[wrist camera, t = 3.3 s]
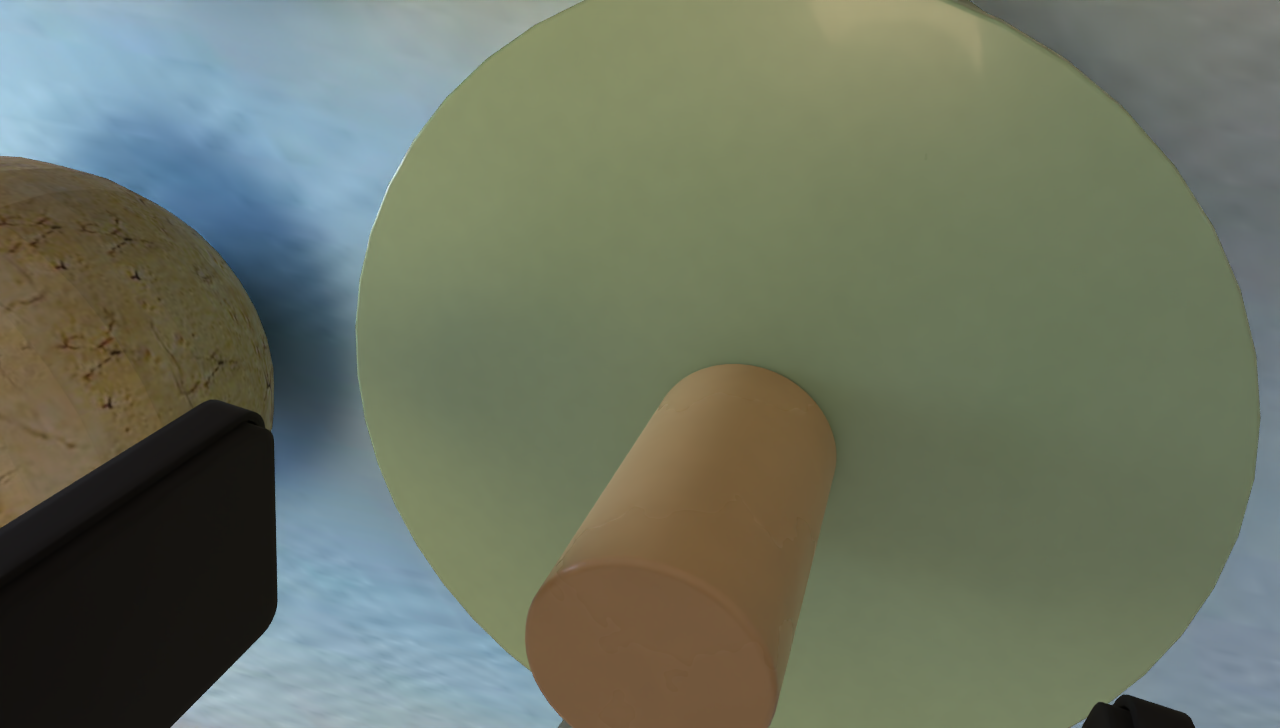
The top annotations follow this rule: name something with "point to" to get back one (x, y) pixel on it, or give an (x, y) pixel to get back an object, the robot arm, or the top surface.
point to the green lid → (806, 369)
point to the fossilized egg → (108, 328)
